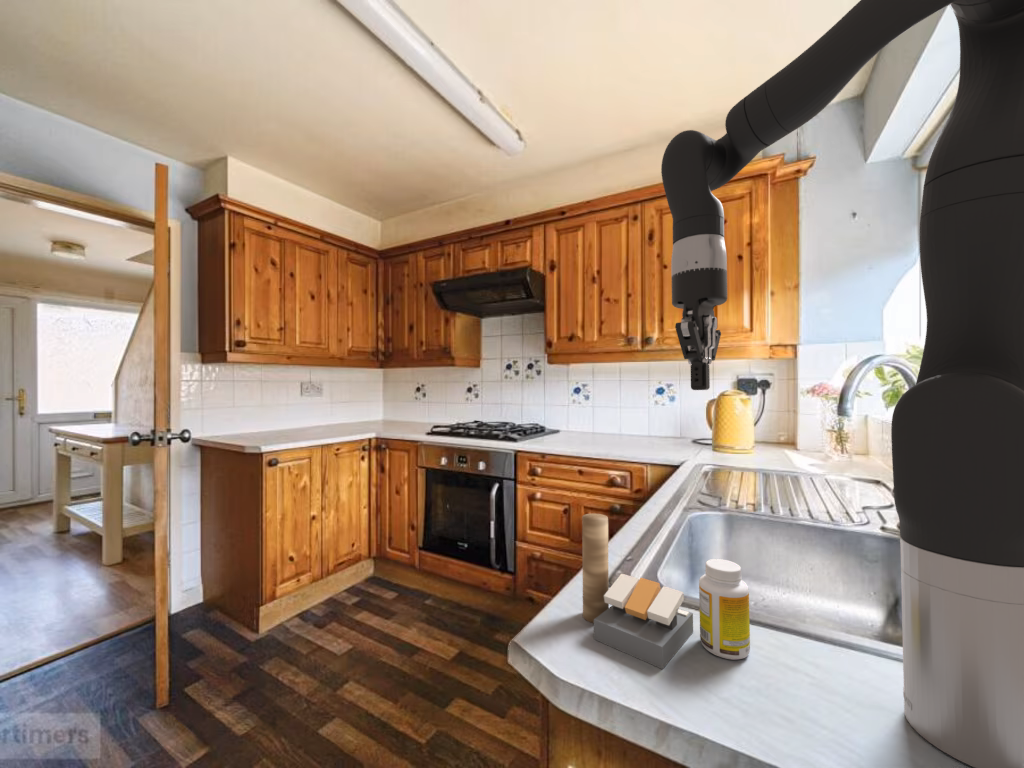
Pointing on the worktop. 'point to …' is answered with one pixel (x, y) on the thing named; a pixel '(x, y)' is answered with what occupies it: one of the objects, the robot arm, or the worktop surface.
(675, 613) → the paddle near bottle
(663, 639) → the board
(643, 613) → the paddle middle
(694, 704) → the worktop surface
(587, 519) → the pine post
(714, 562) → the supplement bottle
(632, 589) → the paddle near post
